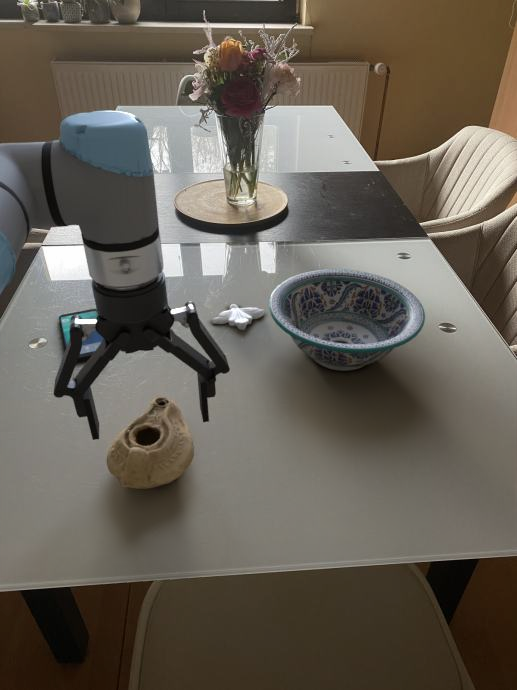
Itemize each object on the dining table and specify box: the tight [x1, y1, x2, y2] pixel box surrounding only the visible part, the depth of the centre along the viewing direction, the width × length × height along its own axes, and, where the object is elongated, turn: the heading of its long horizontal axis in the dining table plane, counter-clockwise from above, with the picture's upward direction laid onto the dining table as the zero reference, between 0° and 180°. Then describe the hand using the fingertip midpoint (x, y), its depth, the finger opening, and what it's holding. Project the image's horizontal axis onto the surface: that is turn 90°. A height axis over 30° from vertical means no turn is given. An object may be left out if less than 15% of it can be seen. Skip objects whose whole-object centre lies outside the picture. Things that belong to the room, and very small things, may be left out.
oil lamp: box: [106, 396, 195, 490], centre depth 70 cm, size 11×15×8 cm
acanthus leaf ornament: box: [212, 303, 265, 331], centre depth 100 cm, size 8×7×2 cm
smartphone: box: [58, 308, 103, 362], centre depth 95 cm, size 7×1×15 cm
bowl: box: [268, 268, 426, 372], centre depth 90 cm, size 25×25×10 cm
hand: (151, 423), depth 68 cm, fingers open, 13 cm apart
